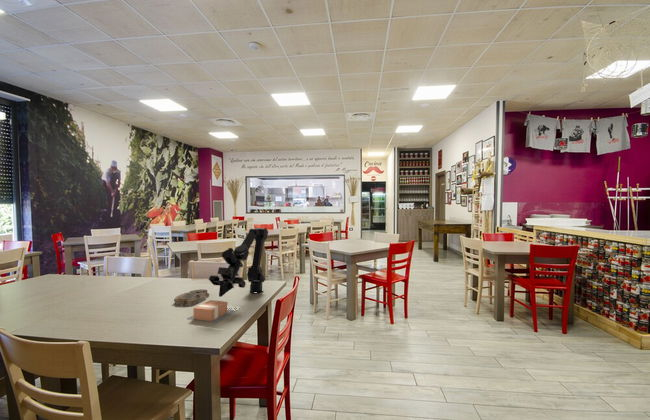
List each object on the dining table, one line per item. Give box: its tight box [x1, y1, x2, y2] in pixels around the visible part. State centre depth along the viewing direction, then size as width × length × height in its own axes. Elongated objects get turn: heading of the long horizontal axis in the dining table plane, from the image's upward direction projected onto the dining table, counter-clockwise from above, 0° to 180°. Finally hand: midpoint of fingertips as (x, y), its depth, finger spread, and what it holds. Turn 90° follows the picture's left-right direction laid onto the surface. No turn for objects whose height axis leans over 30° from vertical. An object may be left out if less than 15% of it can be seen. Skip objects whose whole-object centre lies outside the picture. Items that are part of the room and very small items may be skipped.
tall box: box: [192, 299, 228, 321], centre depth 135 cm, size 5×10×12 cm
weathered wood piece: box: [173, 289, 210, 307], centre depth 160 cm, size 14×5×20 cm
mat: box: [186, 305, 242, 324], centre depth 139 cm, size 22×16×1 cm
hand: (219, 296), depth 142 cm, fingers closed
